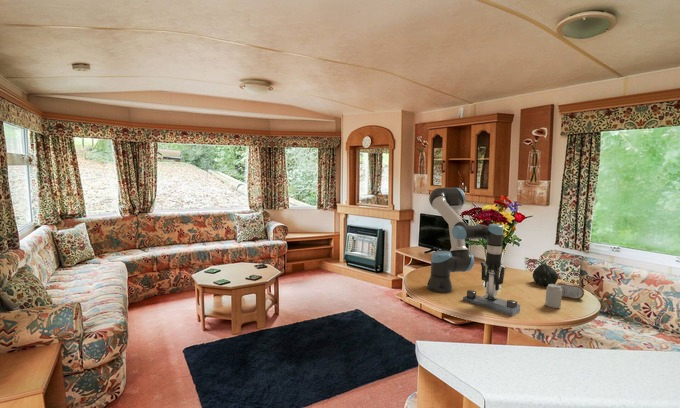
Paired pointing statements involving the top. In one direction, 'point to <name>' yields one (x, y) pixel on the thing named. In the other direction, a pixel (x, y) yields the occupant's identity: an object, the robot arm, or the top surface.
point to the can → (553, 296)
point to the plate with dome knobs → (493, 303)
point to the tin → (571, 290)
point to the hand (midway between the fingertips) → (491, 294)
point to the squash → (545, 275)
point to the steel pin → (491, 285)
